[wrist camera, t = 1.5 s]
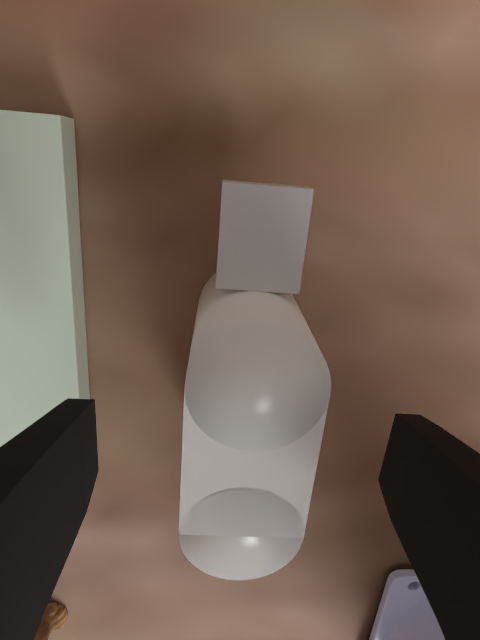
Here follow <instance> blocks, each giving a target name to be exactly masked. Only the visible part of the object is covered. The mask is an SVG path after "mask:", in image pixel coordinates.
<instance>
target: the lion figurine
mask: <svg viewBox="0 0 480 640" xmlns="http://www.w3.org/2000/svg"><path fill="white" fill-rule="evenodd" d="M67 616H68V611H67V609H66V607H65V606H63V605H61V604H59V603H57V602H52V603H49V604H48V605H47V607H46V609H45V612H44V614H43V617H42V619H41V622H40V625H39V627H38V630H37V633H36V635H35V638H34V640H48V637H49V635H50V633H51V632H52V631H53V630H56V629H60V628H62V627H63V626H64V625H65V622H66V620H67Z"/></svg>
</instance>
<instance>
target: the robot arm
mask: <svg viewBox="0 0 480 640" xmlns="http://www.w3.org/2000/svg"><path fill="white" fill-rule="evenodd" d="M97 473H98V453H97V434H96V415H95V400H93V399H72V398H68V399H66V400H65V401H63V402H62V403H60V404H59V405H57V406H56V407H55V408H53V409H52V410H51V411H49V412H48V413H46V414H45V415H44V416H42V417H41V418H40V419H38V420H37V421H36V422H34V423H33V424H32V425H30V426H29V427H27V428H26V429H25V430H23V431H22V432H20V433H19V434H18V435H16V436H15V437H14V438H12V439H11V440H9V441H8V442H7V443H5V444H4V445H2V446H1V447H0V640H34V638H35V635H36V633H37V630H38V627H39V625H40V622H41V619H42V617H43V614H44V612H45V609H46V607H47V605H48V602H49V600H50V598H51V595H52V593H53V590H54V588H55V586H56V583H57V581H58V579H59V576H60V574H61V572H62V569H63V567H64V564H65V562H66V560H67V557H68V555H69V553H70V550H71V548H72V546H73V543H74V541H75V538H76V536H77V534H78V531H79V529H80V526H81V524H82V522H83V519H84V517H85V514H86V512H87V508H88V505H89V502H90V498H91V495H92V491H93V488H94V484H95V481H96V477H97ZM378 480H379V484H380V487H381V490H382V494H383V497H384V501H385V504H386V507H387V510H388V513H389V516H390V519H391V521H392V524H393V526H394V528H395V530H396V533H397V535H398V537H399V539H400V541H401V544H402V546H403V548H404V550H405V552H406V554H407V557H408V559H409V561H410V563H411V565H412V567H413V569H414V570H412V569H399V570H395V571H393V572H392V573H390V575H389V576H388V578H387V582H386V585H385V588H384V592H383V595H382V598H381V602H380V605H379V608H378V612H377V615H376V618H375V622H374V625H373V628H372V632H371V635H370V638H369V640H480V454H479V453H478V452H476V451H475V450H473V449H472V448H470V447H469V446H467V445H466V444H465V443H463V442H462V441H460V440H459V439H457V438H456V437H454V436H453V435H451V434H450V433H448V432H447V431H445V430H444V429H442V428H441V427H439V426H438V425H436V424H435V423H433V422H431V421H430V420H428V419H426V418H425V417H423V416H421V415H412V414H395V418H394V422H393V426H392V430H391V433H390V437H389V441H388V445H387V449H386V453H385V456H384V460H383V464H382V468H381V472H380V476H379V479H378Z"/></svg>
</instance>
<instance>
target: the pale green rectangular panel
mask: <svg viewBox="0 0 480 640" xmlns="http://www.w3.org/2000/svg"><path fill="white" fill-rule="evenodd" d="M68 398H72V399H90V393H89V375H88V357H87V340H86V322H85V304H84V286H83V268H82V251H81V233H80V215H79V197H78V180H77V162H76V144H75V126H74V119H73V118H69V117H65V116H61V115H52V114H41V113H31V112H20V111H9V110H0V447H1V446H2V445H4V444H5V443H7V442H8V441H9V440H11V439H12V438H14V437H15V436H16V435H18V434H19V433H20V432H22V431H23V430H25V429H26V428H27V427H29V426H30V425H32V424H33V423H34V422H36V421H37V420H38V419H40V418H41V417H42V416H44V415H45V414H46V413H48V412H49V411H51V410H52V409H53V408H55V407H56V406H57V405H59V404H60V403H62V402H63V401H65V400H66V399H68Z"/></svg>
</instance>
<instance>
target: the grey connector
mask: <svg viewBox="0 0 480 640" xmlns="http://www.w3.org/2000/svg"><path fill="white" fill-rule="evenodd" d="M313 193H314V189H312V188H309V187H306V186H294V185H283V184H271V183H259V182H247V181H236V180H224V179H222V194H221V210H220V226H219V241H218V257H217V272H216V273H214V274H213V275H212V276H211V277H210V278H209V280H208V281H207V282H206V284H205V285H204V287H203V289H202V291H201V294H200V298H199V302H198V308H197V314H196V320H195V326H194V332H193V338H192V344H191V349H190V355H189V361H188V367H187V373H186V379H185V387H184V412H183V438H182V463H181V489H180V514H179V543H180V547H181V549H182V552H183V553H184V555H185V557H186V558H187V559H188V560H189V561H190V563H192V564H193V565H194V566H195V567H196V568H198V569H199V570H201V571H203V572H205V573H206V574H209V575H211V576H214V577H218V578H221V579H227V580H250V579H256V578H260V577H264V576H267V575H269V574H272V573H274V572H276V571H278V570H279V569H281V568H282V567H284V566H285V565H287V564H288V563H289V562H290V561H291V560H292V559H293V558H294V557H295V556H296V554H297V553H298V551H299V549H300V547H301V545H302V542H303V538H304V533H305V528H306V522H307V517H308V512H309V506H310V501H311V496H312V490H313V485H314V480H315V474H316V469H317V464H318V458H319V453H320V447H321V442H322V437H323V431H324V426H325V421H326V415H327V410H328V405H329V399H330V393H331V377H330V372H329V368H328V366H327V363H326V361H325V359H324V357H323V355H322V353H321V351H320V349H319V347H318V345H317V343H316V341H315V339H314V337H313V335H312V333H311V331H310V329H309V327H308V325H307V323H306V321H305V319H304V317H303V315H302V313H301V311H300V309H299V307H298V305H297V303H296V301H295V299H294V297H293V294H299V293H300V286H301V278H302V271H303V264H304V257H305V250H306V243H307V236H308V229H309V222H310V215H311V208H312V201H313Z"/></svg>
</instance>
